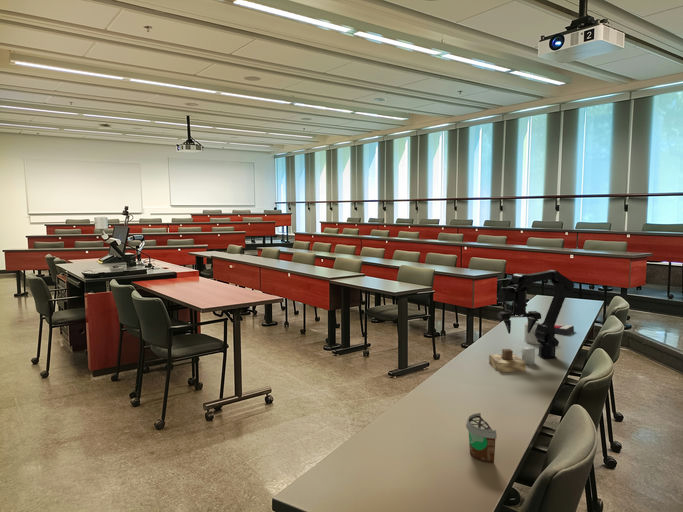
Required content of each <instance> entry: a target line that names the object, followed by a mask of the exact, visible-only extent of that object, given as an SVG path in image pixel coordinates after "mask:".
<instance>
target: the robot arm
mask: <svg viewBox="0 0 683 512" xmlns="http://www.w3.org/2000/svg"><path fill="white" fill-rule="evenodd" d="M549 280H550V282H551V284H553V288H552V289H553V298H552V299H551V302H550V305H549V307H548V311H547V312H546V315H545V318H544V320H543V322H541V323H542V324H541V325H540V324H538V325H537V328H536V330H535V336H536V338H537V341H538V342H539V343H540V344H539V346H538V354H537V355H538V356H539V357H541V358H542V359H546V360H547V359H558V356H556V347H558V346H559V343H560V341H559V340H558V339H557V338H556V337H555V336H556V333H555V327H554V326H555V323H556V324H557V320H558V317H559V316H560V314H561V313H560V312H561V310H562V307H563V304H564V301H565V300H566V298H567V297H568V296H570V295H571V293H572V292H573V290H574V287H575V284H574V281H573V280H571V279H569V278H568V277H566V276H564V275H563V274H561V272H559V270H556V269H555V270H554V269H548V270H545V271H539V272H533V273H517V272H516V273H514V274H513V275H512V276H511V278H510V280H509V282H508V283H507V285H506V286H505V287H504V286H503V287H502V286H501V287H499V288H500V289H499V290H498V291H497V293H496V294H497V296H496V297H497V300H498V301H499V302H500V303H504V308H503V309H504V311H499V312H497V318H498V319H500V320H501V321H502V322H503V323H504V324H505V327H506V331H507V333H508V335H509V334H510V335H511V329H512V328H511V325H512V320H510V319H511V318H527V322H528V328H527V332H528V333H530V331H531V329H532V327H533V326H534V324H535V323H536V322H539V320H542V313H541V312H539V311H537V310H528V312H527V307H528V304H527V292H531V289H530V288H529V286H531V285H532V284H534V283H538V282H543V281H544V282H545V281H549ZM508 302H511V304H510V303H508ZM507 311H508V312H507Z"/></svg>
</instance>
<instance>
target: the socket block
mask: <svg viewBox="0 0 683 512" xmlns="http://www.w3.org/2000/svg"><path fill="white" fill-rule="evenodd" d="M488 361H489V363H488V364H489V365H491V367H493V368H494V370H495V371H497V372H499V373H508V372H509V373H510V372H511V373H515V372H527V371H526V369H527V365H526V362H525V361H523V360H522V357H519V356H518V355H517V354H515V353H513V360H503V359H502V353H501V354H489V355H488Z"/></svg>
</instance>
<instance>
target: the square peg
mask: <svg viewBox="0 0 683 512" xmlns="http://www.w3.org/2000/svg"><path fill="white" fill-rule="evenodd" d="M501 354H502V359H503V360H513V354H514V353H513V350H512V349H510V348H502V349H501Z"/></svg>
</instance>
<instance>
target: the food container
mask: <svg viewBox="0 0 683 512" xmlns="http://www.w3.org/2000/svg"><path fill="white" fill-rule="evenodd" d="M481 415H482V413H480V412H477V413H473V414H471V415H469V416H468V418H467V420H466V423H465V428H466V430H468V443H469V444H468V445H469V454H470V456H471V457H472V458H473V459H474V460H477V461H479V462H483V463H486V464H487V463H488V464H489V463H490V464H492V463H493V464H494V463H495V454H496V441H497V435H498V434H497V430H496V429H492V427H491V426H490V425H489V423H488V422H487V421H485V419H483V417H481Z"/></svg>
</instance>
